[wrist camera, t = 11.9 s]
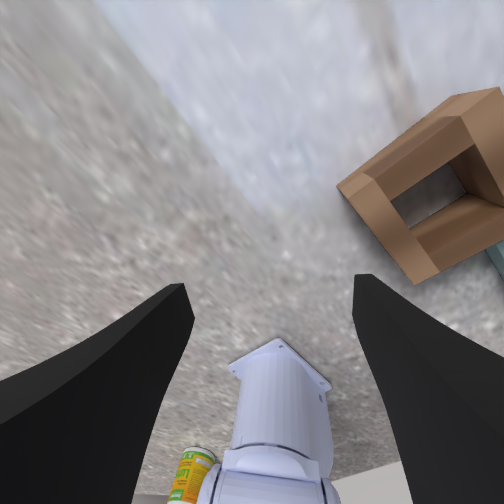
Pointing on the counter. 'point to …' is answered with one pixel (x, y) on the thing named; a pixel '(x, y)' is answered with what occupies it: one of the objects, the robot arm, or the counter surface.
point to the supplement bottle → (191, 475)
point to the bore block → (424, 163)
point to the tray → (497, 256)
